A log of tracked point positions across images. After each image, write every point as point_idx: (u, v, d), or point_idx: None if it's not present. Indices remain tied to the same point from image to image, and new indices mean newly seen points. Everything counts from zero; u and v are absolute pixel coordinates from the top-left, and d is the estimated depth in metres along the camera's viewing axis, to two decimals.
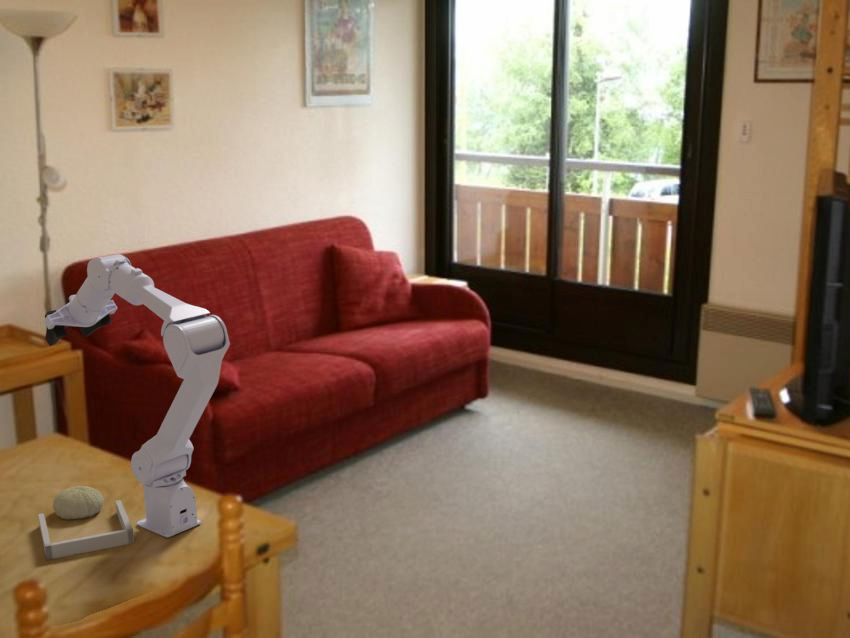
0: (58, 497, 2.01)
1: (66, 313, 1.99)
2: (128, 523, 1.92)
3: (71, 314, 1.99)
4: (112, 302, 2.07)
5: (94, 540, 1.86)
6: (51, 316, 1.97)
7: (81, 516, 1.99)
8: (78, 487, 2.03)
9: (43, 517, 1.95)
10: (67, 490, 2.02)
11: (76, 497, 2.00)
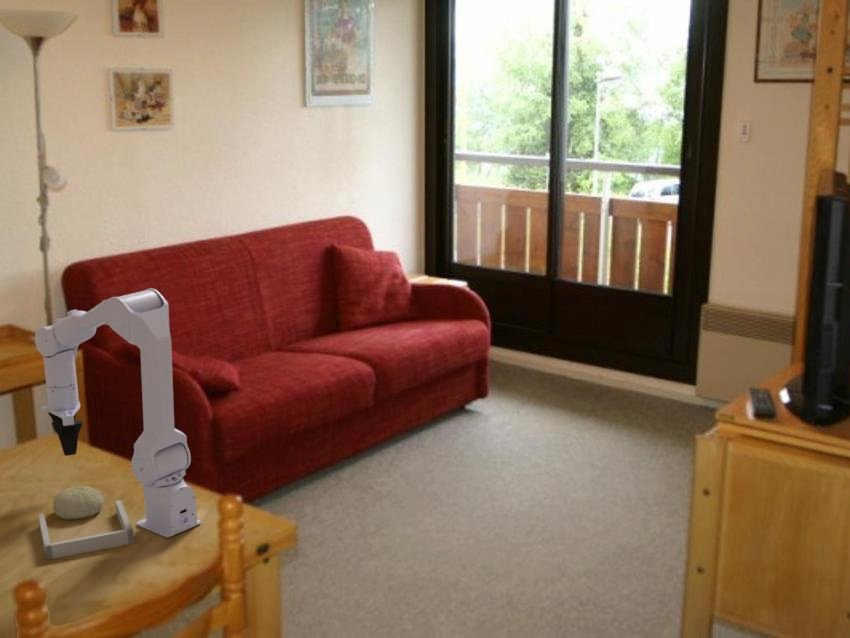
0: (58, 497, 2.01)
1: (62, 412, 2.05)
2: (128, 523, 1.92)
3: (66, 407, 2.05)
4: None
5: (94, 540, 1.86)
6: None
7: (81, 516, 1.99)
8: (78, 487, 2.03)
9: (43, 517, 1.95)
10: (67, 490, 2.02)
11: (76, 497, 2.00)
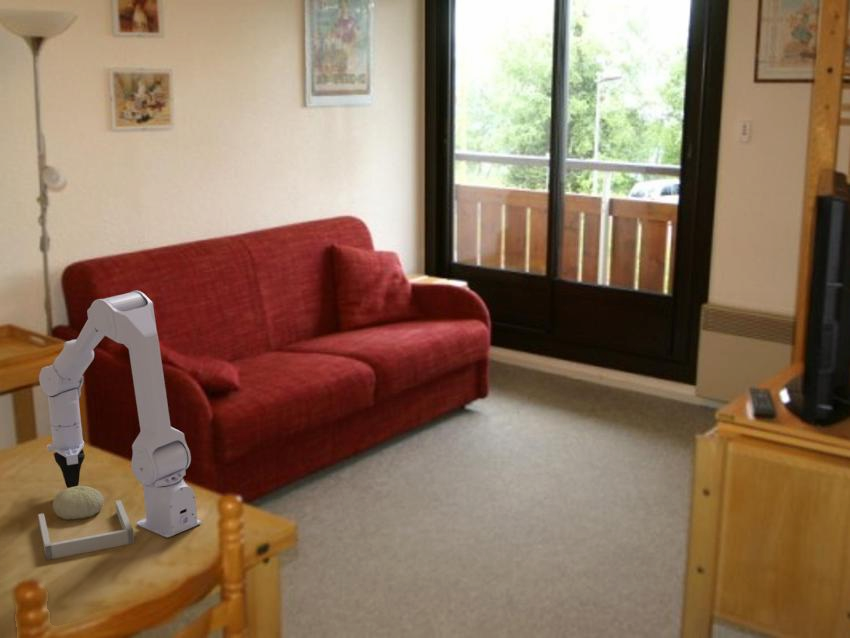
0: (58, 497, 2.01)
1: (66, 450, 2.07)
2: (128, 523, 1.92)
3: (70, 446, 2.07)
4: None
5: (94, 540, 1.86)
6: None
7: (81, 516, 1.99)
8: (78, 487, 2.03)
9: (43, 517, 1.95)
10: (67, 490, 2.02)
11: (76, 497, 2.00)
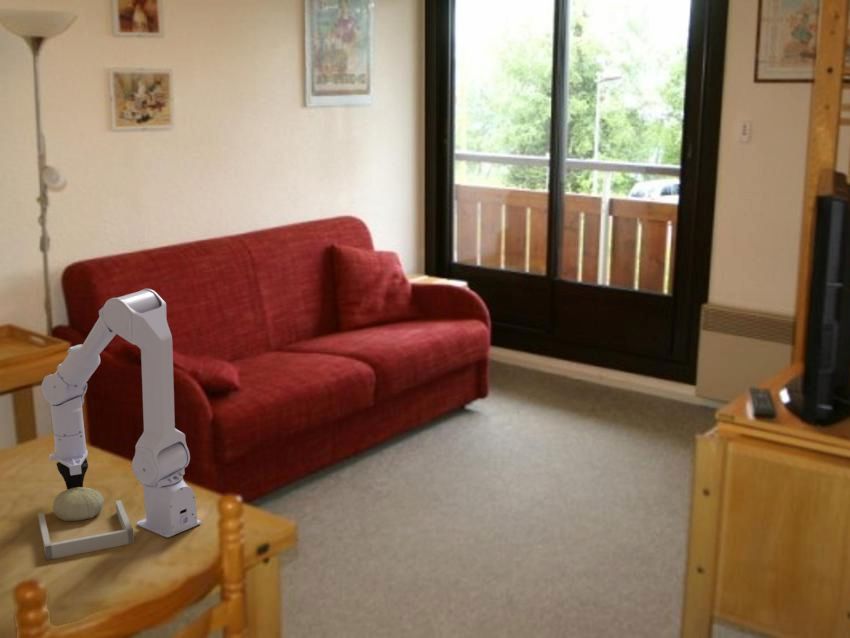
0: (58, 498, 2.00)
1: (69, 460, 2.02)
2: (128, 523, 1.92)
3: (73, 455, 2.02)
4: None
5: (94, 540, 1.86)
6: (70, 466, 1.99)
7: (81, 517, 1.98)
8: (78, 488, 2.02)
9: (43, 517, 1.95)
10: (67, 491, 2.01)
11: (76, 498, 1.99)
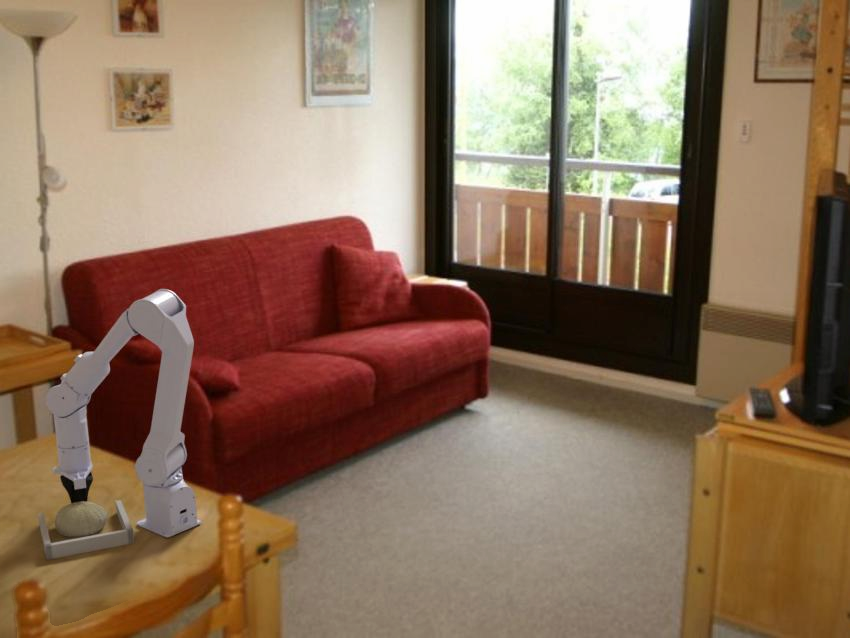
0: (59, 513, 1.93)
1: (73, 474, 1.95)
2: (128, 523, 1.92)
3: (77, 468, 1.96)
4: None
5: (94, 540, 1.86)
6: None
7: (81, 534, 1.91)
8: (81, 503, 1.96)
9: (43, 517, 1.95)
10: (69, 506, 1.94)
11: (77, 513, 1.92)
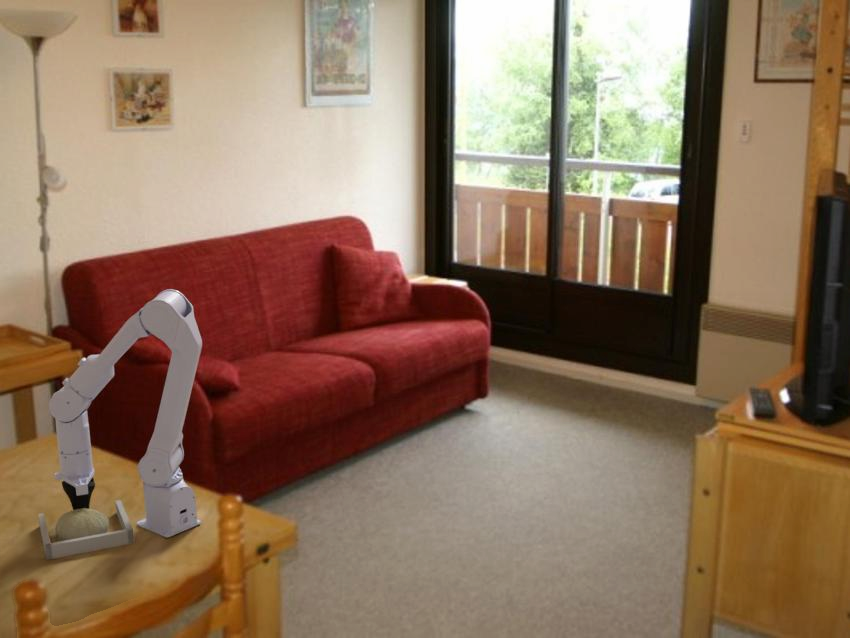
0: (60, 520, 1.91)
1: (75, 479, 1.92)
2: (128, 523, 1.92)
3: (79, 474, 1.93)
4: None
5: (94, 540, 1.86)
6: None
7: None
8: (83, 510, 1.93)
9: (43, 517, 1.95)
10: (70, 513, 1.91)
11: (78, 521, 1.89)
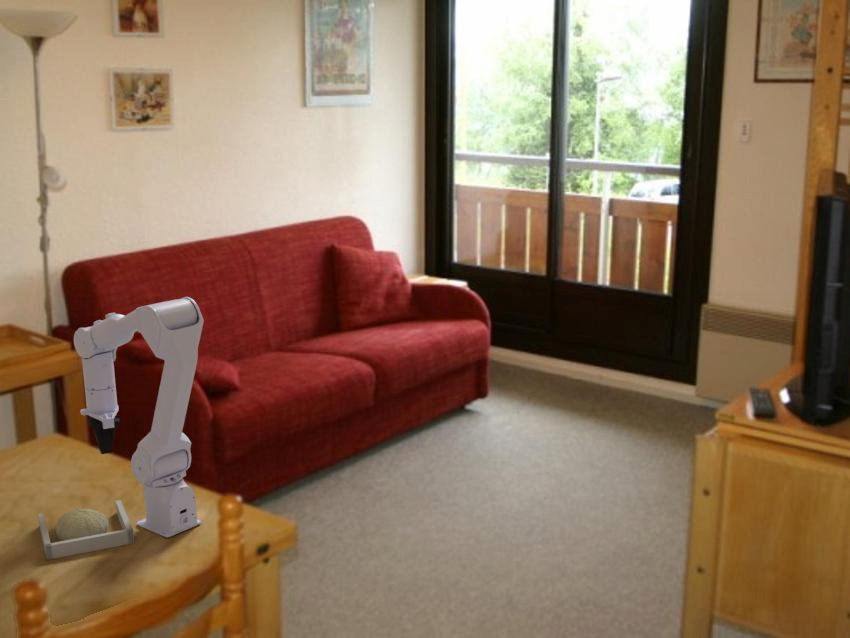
0: (60, 520, 1.91)
1: (101, 415, 2.01)
2: (128, 523, 1.92)
3: (105, 410, 2.02)
4: None
5: (94, 540, 1.86)
6: None
7: None
8: (82, 510, 1.93)
9: (43, 517, 1.95)
10: (70, 513, 1.91)
11: (77, 521, 1.89)
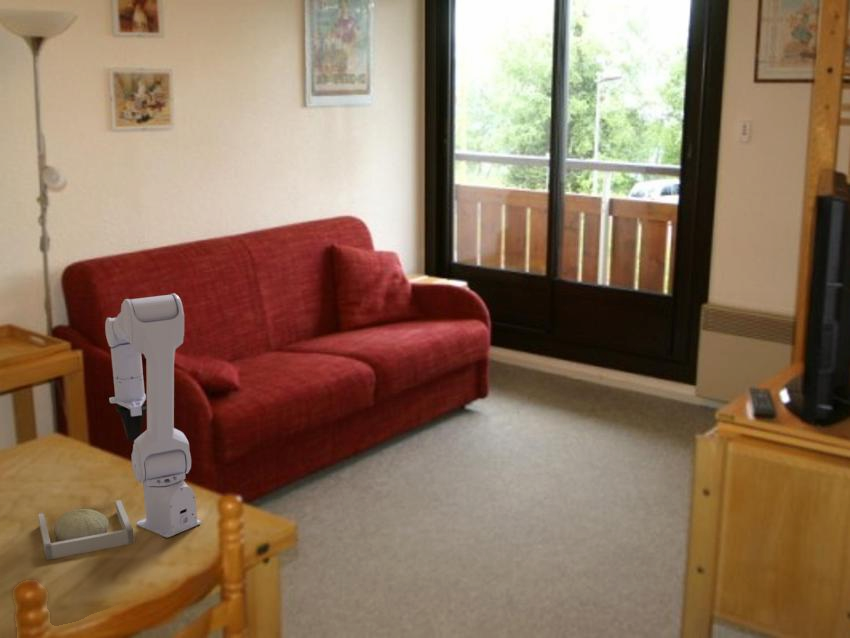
0: (60, 520, 1.91)
1: (129, 403, 2.08)
2: (128, 523, 1.92)
3: (133, 398, 2.09)
4: None
5: (94, 540, 1.86)
6: None
7: None
8: (82, 510, 1.93)
9: (43, 517, 1.95)
10: (70, 513, 1.91)
11: (77, 521, 1.89)
